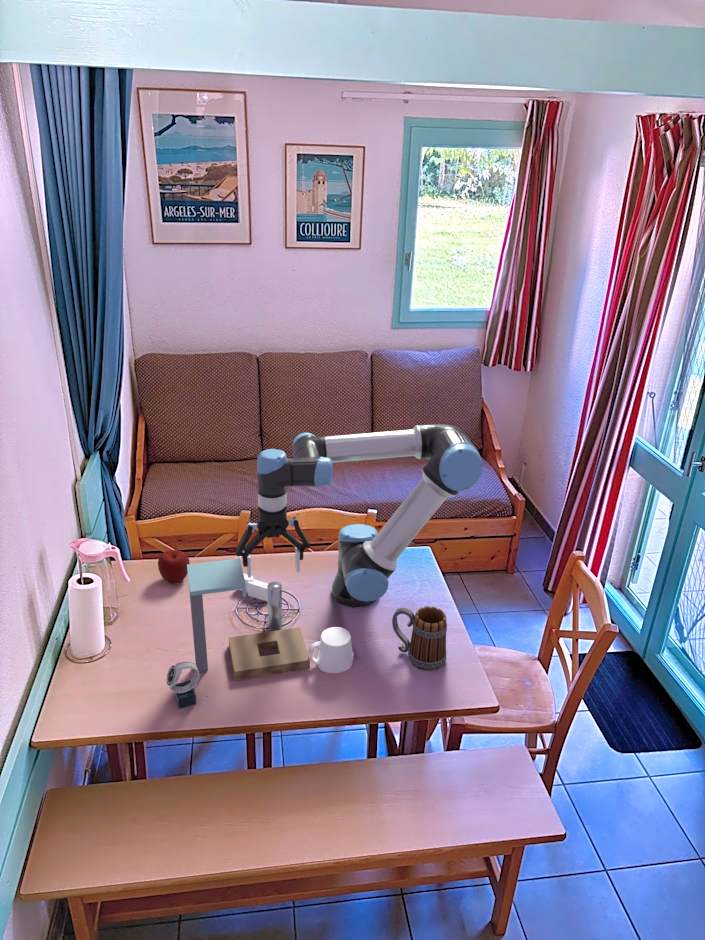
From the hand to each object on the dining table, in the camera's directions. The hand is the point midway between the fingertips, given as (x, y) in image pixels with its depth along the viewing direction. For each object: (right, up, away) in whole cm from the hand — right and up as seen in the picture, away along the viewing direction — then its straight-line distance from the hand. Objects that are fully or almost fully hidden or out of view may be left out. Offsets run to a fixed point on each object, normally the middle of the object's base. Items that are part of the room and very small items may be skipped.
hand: (273, 572), depth 202 cm
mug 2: (+40, -23, -2) cm, 46 cm away
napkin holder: (-8, -10, +23) cm, 26 cm away
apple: (-34, -7, +27) cm, 44 cm away
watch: (-20, -30, -18) cm, 40 cm away
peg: (0, -17, +8) cm, 19 cm away
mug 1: (+16, -24, -5) cm, 30 cm away
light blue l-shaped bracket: (-13, -24, -7) cm, 28 cm away
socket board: (-1, -23, -4) cm, 23 cm away
